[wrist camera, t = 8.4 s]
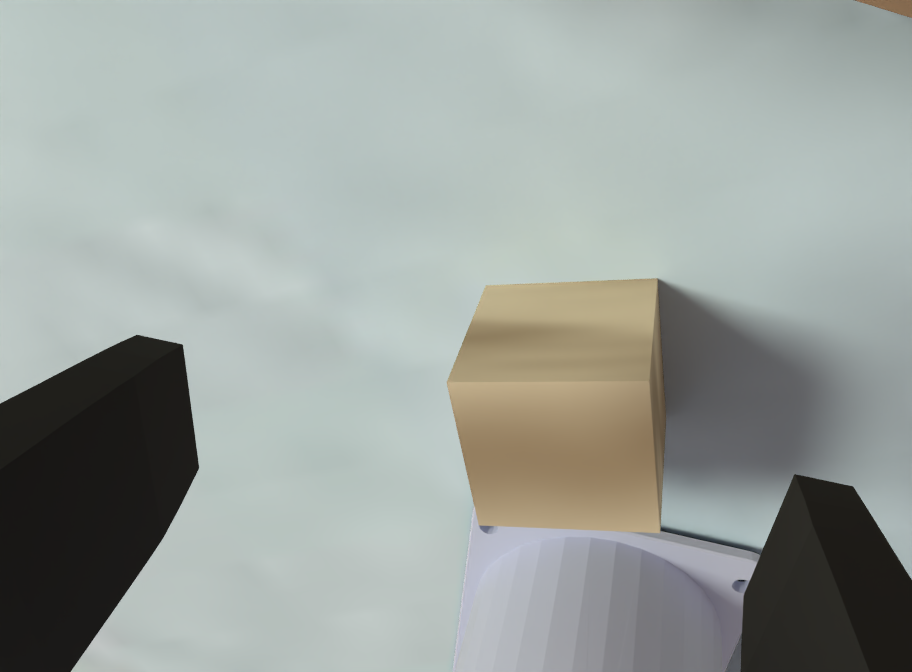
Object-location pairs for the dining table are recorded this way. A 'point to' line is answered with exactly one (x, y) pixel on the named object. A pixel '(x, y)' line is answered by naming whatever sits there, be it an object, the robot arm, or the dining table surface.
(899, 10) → the walnut block
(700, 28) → the dining table surface
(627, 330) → the maple block
